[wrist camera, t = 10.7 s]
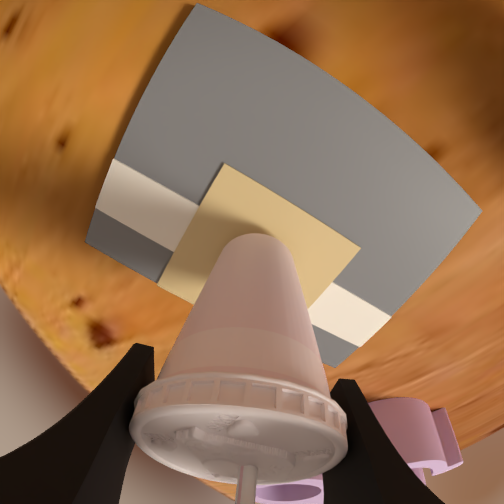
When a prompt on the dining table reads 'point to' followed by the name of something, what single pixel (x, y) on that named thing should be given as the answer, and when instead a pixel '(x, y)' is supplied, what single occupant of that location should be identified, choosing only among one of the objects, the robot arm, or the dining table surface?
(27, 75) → the dining table surface
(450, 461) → the clip
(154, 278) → the board
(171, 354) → the smoothie
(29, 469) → the robot arm
